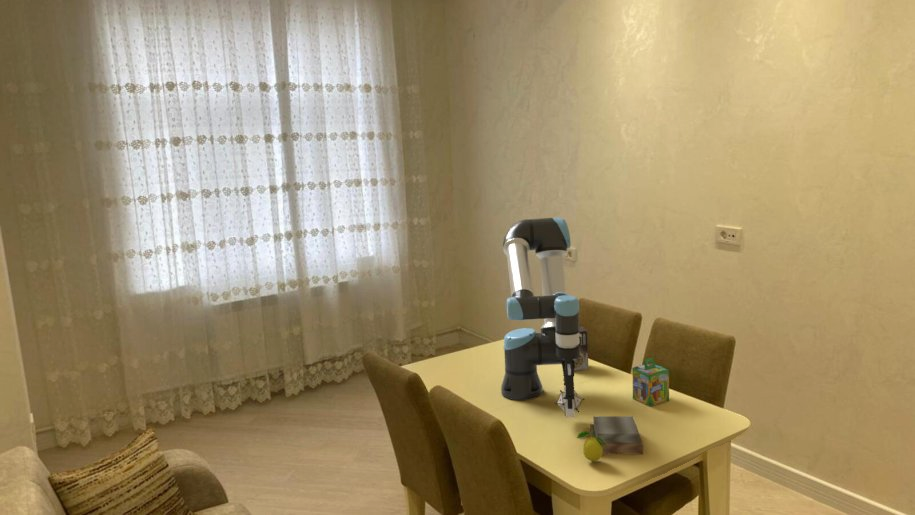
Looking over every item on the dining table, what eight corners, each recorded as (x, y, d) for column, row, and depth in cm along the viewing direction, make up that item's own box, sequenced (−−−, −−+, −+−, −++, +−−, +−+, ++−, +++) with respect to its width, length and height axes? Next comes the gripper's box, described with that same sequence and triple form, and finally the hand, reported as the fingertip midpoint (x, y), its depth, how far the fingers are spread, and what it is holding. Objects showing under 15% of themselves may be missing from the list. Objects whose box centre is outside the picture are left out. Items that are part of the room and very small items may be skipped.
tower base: (594, 454, 197) (594, 435, 196) (590, 433, 210) (589, 415, 209) (643, 454, 195) (642, 434, 194) (635, 432, 209) (635, 414, 208)
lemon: (577, 459, 194) (576, 427, 192) (593, 454, 196) (593, 423, 195) (591, 469, 188) (590, 436, 186) (607, 464, 190) (607, 431, 189)
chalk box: (650, 407, 227) (650, 365, 224) (631, 398, 235) (631, 358, 232) (670, 401, 231) (670, 360, 229) (651, 392, 239) (651, 353, 237)
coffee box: (583, 364, 272) (582, 325, 269) (588, 369, 266) (587, 330, 263) (561, 366, 271) (560, 328, 268) (566, 371, 264) (565, 332, 262)
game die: (575, 424, 217) (585, 410, 209) (550, 415, 217) (559, 401, 210) (579, 401, 223) (589, 386, 215) (555, 392, 223) (564, 377, 215)
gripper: (582, 355, 202) (583, 425, 206) (577, 333, 222) (578, 397, 226) (557, 356, 202) (558, 425, 207) (554, 334, 223) (556, 397, 227)
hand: (569, 410), depth 217 cm, fingers closed on game die, 8 cm apart
